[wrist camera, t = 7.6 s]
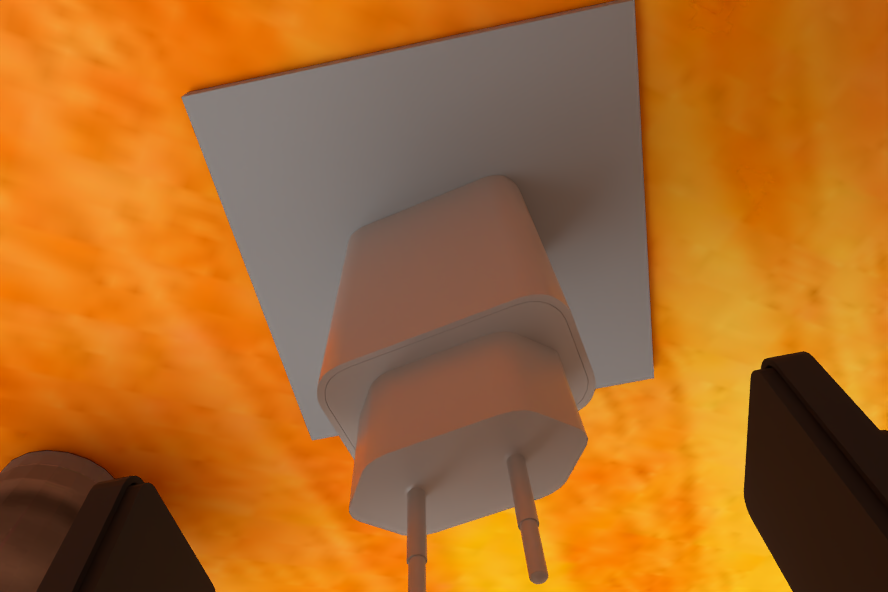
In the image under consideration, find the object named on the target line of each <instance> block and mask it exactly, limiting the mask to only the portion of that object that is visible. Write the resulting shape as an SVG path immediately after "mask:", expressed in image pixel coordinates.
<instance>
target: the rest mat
mask: <svg viewBox="0 0 888 592" xmlns="http://www.w3.org/2000/svg"><path fill="white" fill-rule="evenodd" d="M182 100H183V103H184V105H185V108H186V111H187V113H188V116H189V118H190V121H191V124H192V126H193V129H194V132H195V134H196V137H197V139H198V142H199V145H200V147H201V150H202V153H203V155H204V158H205V160H206V163H207V166H208V168H209V171H210V174H211V176H212V179H213V181H214V184H215V187H216V189H217V192H218V195H219V197H220V200H221V203H222V205H223V208H224V210H225V213H226V216H227V218H228V221H229V224H230V226H231V229H232V231H233V234H234V237H235V239H236V242H237V245H238V247H239V250H240V252H241V255H242V258H243V260H244V263H245V266H246V268H247V271H248V273H249V276H250V279H251V281H252V284H253V287H254V289H255V292H256V294H257V297H258V300H259V302H260V305H261V308H262V310H263V313H264V315H265V318H266V321H267V323H268V326H269V329H270V331H271V334H272V337H273V339H274V342H275V344H276V347H277V350H278V352H279V355H280V358H281V360H282V363H283V365H284V368H285V371H286V373H287V376H288V379H289V381H290V384H291V386H292V389H293V392H294V394H295V397H296V400H297V402H298V405H299V407H300V410H301V413H302V415H303V418H304V421H305V423H306V426H307V428H308V431H309V434H310V436H311V439H312V440H316V439H322V438H327V437H333V436H338V433H337V432H336V430H335V429H334V427H333V425H332V424H331V422H330V421H329V419H328V418H327V416H326V414H325V413H324V411H323V410H322V408H321V407H320V404H319V402H318V398H317V387H318V382H319V378H320V373H321V368H322V364H323V359H324V354H325V349H326V345H327V340H328V335H329V331H330V326H331V321H332V316H333V312H334V307H335V302H336V298H337V293H338V288H339V284H340V279H341V274H342V269H343V265H344V260H345V255H346V251H347V246H348V242H349V239H350V237H351V235H352V234H353V233H354V232H355V231H357V230H358V229H360V228H362V227H363V226H366V225H368V224H371V223H373V222H375V221H378V220H380V219H383V218H385V217H388V216H390V215H393V214H395V213H398V212H400V211H403V210H405V209H407V208H410V207H412V206H415V205H417V204H420V203H422V202H425V201H427V200H430V199H432V198H434V197H437V196H439V195H442V194H444V193H447V192H449V191H452V190H454V189H457V188H459V187H462V186H464V185H466V184H469V183H471V182H474V181H476V180H479V179H481V178H484V177H488V176H491V175H501V176H505V177H507V178H509V179H510V180H512V181H513V182H514V183H515V184H516V185H517V187H518V188H519V190H520V192H521V195H522V197H523V200H524V202H525V204H526V207H527V209H528V211H529V214H530V216H531V218H532V221H533V223H534V226H535V228H536V230H537V233H538V235H539V237H540V240H541V242H542V244H543V247H544V249H545V252H546V254H547V256H548V259H549V261H550V263H551V266H552V268H553V270H554V273H555V275H556V278H557V280H558V282H559V285H560V287H561V289H562V292H563V294H564V296H565V299H566V301H567V304H568V306H569V308H570V311H571V313H572V316H573V318H574V321H575V324H576V326H577V329H578V332H579V335H580V337H581V340H582V343H583V345H584V348H585V351H586V354H587V356H588V359H589V362H590V364H591V367H592V370H593V373H594V375H595V380H596V385H595V389H597V388H602V387H608V386H613V385H619V384H624V383H630V382H635V381H640V380H646V379H651V378H654V369H653V349H652V330H651V311H650V291H649V272H648V253H647V233H646V214H645V194H644V175H643V156H642V136H641V117H640V97H639V78H638V59H637V39H636V20H635V0H616V1H611V2H607V3H602V4H597V5H593V6H588V7H583V8H579V9H574V10H569V11H565V12H560V13H555V14H551V15H546V16H541V17H537V18H532V19H527V20H523V21H518V22H513V23H509V24H504V25H499V26H495V27H490V28H486V29H481V30H476V31H472V32H467V33H462V34H458V35H453V36H448V37H444V38H439V39H434V40H430V41H425V42H420V43H416V44H411V45H406V46H402V47H397V48H392V49H388V50H383V51H378V52H374V53H369V54H364V55H360V56H355V57H350V58H346V59H341V60H337V61H332V62H327V63H323V64H318V65H313V66H309V67H304V68H299V69H295V70H290V71H285V72H281V73H276V74H271V75H267V76H262V77H257V78H253V79H248V80H243V81H239V82H234V83H229V84H225V85H220V86H215V87H211V88H206V89H202V90H197V91H192V92H188V93H187V94H185V95H184V96H182Z"/></svg>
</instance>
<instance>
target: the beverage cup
mask: <svg viewBox="0 0 888 592" xmlns="http://www.w3.org/2000/svg"><path fill="white" fill-rule="evenodd" d="M112 479H114V478H113V477H112V476H111V475H110V474H109V473H108V472H107V471H106V470H105V469H103V468H102V467H100V466H98V465H97V464H95V463H93V462H92V461H90V460H88V459H86V458H83V457H80V456H77V455H74V454H71V453H67V452H57V451H48V450H47V451H39V452H32V453H27V454H25V455H22V456H20V457H18V458H16V459H14V460H12V461H11V462H10V463H9V464H8V465H7V466H6V467H5V468H4V469H3V470H2V472H1V473H0V592H36V591H37V589H38V587H39V585H40V583H41V582H42V580H43V578H44V576H45V574H46V572H47V570H48V568H49V567H50V565H51V563H52V561H53V559H54V557H55V555H56V553H57V552H58V550H59V548H60V546H61V544H62V542H63V540H64V538H65V537H66V535H67V533H68V531H69V529H70V527H71V525H72V523H73V522H74V520H75V518H76V516H77V514H78V512H79V510H80V508H81V506H82V505H83V503H84V501H85V499H86V497H87V495H88V493H89V491H90V490H91V488H92V487H93V486H94V485H95V484H96V483H98V482H102V481H107V480H112Z"/></svg>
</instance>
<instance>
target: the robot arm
mask: <svg viewBox="0 0 888 592" xmlns="http://www.w3.org/2000/svg"><path fill="white" fill-rule="evenodd" d="M744 499H745V503H746V507H747V510H748V512H749V515H750V517H751V519H752V520H753V522H754V524H755V526H756V528H757V529H758V531H759V533H760V535H761V536H762V538H763V540H764V542H765V543H766V545H767V547H768V549H769V550H770V552H771V554H772V556H773V557H774V559H775V561H776V563H777V565H778V566H779V568H780V570H781V572H782V573H783V575H784V577H785V579H786V580H787V582H788V584H789V586H790V587H791V589H792V591H793V592H888V431H887V430H879V429H878V428H877V427H876V426H875V425H874V423H873V422H872V421H871V420H870V419H869V418H868V417H867V416H866V415H865V414H864V412H863V411H862V410H861V409H860V408H859V407H858V406H857V405H856V404H855V403H854V401H853V400H852V399H851V398H850V397H849V396H848V395H847V394H846V393H845V391H844V390H843V389H842V388H841V387H840V386H839V385H838V384H837V383H836V382H835V380H834V379H833V378H832V377H831V376H830V375H829V374H828V373H827V372H826V371H825V369H824V368H823V367H822V366H821V365H820V364H819V363H818V362H817V361H816V360H815V358H814V357H813V356H811V355H810V354H809V353H807V352H804V351H803V352H798V353H793V354H787V355H782V356H776V357H771V358H767V359H764V361H763V362H762V365H761V369H760V370H755V371H753V372H752V374H751V382H750V399H749V415H748V432H747V448H746V465H745V482H744ZM36 592H215V588H214V586H213V584H212V582H211V580H210V579H209V577H208V575H207V574H206V572H205V570H204V569H203V567H202V565H201V564H200V562H199V560H198V559H197V557H196V555H195V554H194V552H193V550H192V549H191V547H190V545H189V544H188V542H187V540H186V539H185V537H184V535H183V534H182V532H181V530H180V529H179V527H178V525H177V524H176V522H175V520H174V519H173V517H172V515H171V514H170V512H169V510H168V509H167V507H166V505H165V504H164V502H163V500H162V499H161V497H160V495H159V494H158V492H157V490H156V489H155V487H154V486H153V485H152V484H151V483H144V482H143V481H142V479H141V478H139V477H137V476H129V477H123V478H118V479H112V480H107V481H102V482H98V483H96V484H95V485H94V486H93V487H92V488H91V490H90V491H89V493H88V495H87V497H86V499H85V501H84V503H83V505H82V506H81V508H80V510H79V512H78V514H77V516H76V518H75V520H74V522H73V523H72V525H71V527H70V529H69V531H68V533H67V535H66V537H65V538H64V540H63V542H62V544H61V546H60V548H59V550H58V552H57V553H56V555H55V557H54V559H53V561H52V563H51V565H50V567H49V568H48V570H47V572H46V574H45V576H44V578H43V580H42V582H41V583H40V585H39V587H38V589H37V591H36Z"/></svg>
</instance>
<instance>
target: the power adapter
mask: <svg viewBox="0 0 888 592" xmlns="http://www.w3.org/2000/svg"><path fill="white" fill-rule="evenodd" d="M595 385H596V380H595V375H594V373H593V370H592V367H591V364H590V362H589V359H588V356H587V354H586V351H585V348H584V345H583V343H582V340H581V337H580V335H579V332H578V329H577V326H576V324H575V321H574V318H573V316H572V313H571V311H570V308H569V306H568V304H567V301H566V299H565V296H564V294H563V292H562V289H561V287H560V285H559V282H558V280H557V278H556V275H555V273H554V270H553V268H552V266H551V263H550V261H549V259H548V256H547V254H546V252H545V249H544V247H543V244H542V242H541V240H540V237H539V235H538V233H537V230H536V228H535V226H534V223H533V221H532V218H531V216H530V214H529V211H528V209H527V207H526V204H525V202H524V200H523V197H522V195H521V192H520V190H519V188H518V187H517V185H516V184H515V183H514V182H513V181H512V180H510V179H509V178H507V177H505V176H501V175H491V176H488V177H484V178H481V179H479V180H476V181H474V182H471V183H469V184H466V185H464V186H462V187H459V188H457V189H454V190H452V191H449V192H447V193H444V194H442V195H439V196H437V197H434V198H432V199H430V200H427V201H425V202H422V203H420V204H417V205H415V206H412V207H410V208H407V209H405V210H403V211H400V212H398V213H395V214H393V215H390V216H388V217H385V218H383V219H380V220H378V221H375V222H373V223H371V224H368V225H366V226H363V227H362V228H360V229H358V230H357V231H355V232H354V233H353V234H352V235H351V237H350V239H349V242H348V246H347V251H346V255H345V260H344V265H343V269H342V274H341V279H340V284H339V288H338V293H337V298H336V302H335V307H334V312H333V316H332V321H331V326H330V331H329V335H328V340H327V345H326V349H325V354H324V359H323V364H322V368H321V373H320V378H319V382H318V387H317V398H318V402H319V404H320V407H321V408H322V410H323V411H324V413H325V414H326V416H327V418H328V419H329V421H330V422H331V424H332V425H333V427H334V429H335V430H336V432H337V433H338V435H339V436H340V438H341V440H342V441H343V443H344V444H345V446H346V447H347V449H348V451H349V452H350V454H351V455H352V457H353V458H354V460H355V461H354V470H353V479H352V488H351V497H350V506H349V513H350V514H351V516H352V517H353V518H354V519H356V520H358V521H360V522H363V523H366V524H369V525H373V526H376V527H379V528H382V529H385V530H388V531H392V532H395V533H398V534H401V535H407V564H408V592H426V567H425V564H426V563H427V536H426V535H427V534H432V533H436V532H439V531H442V530H445V529H448V528H451V527H454V526H457V525H460V524H463V523H466V522H469V521H472V520H476V519H479V518H482V517H485V516H488V515H491V514H494V513H497V512H500V511H503V510H506V509H509V508H512V507H515V512H516V517H517V523H518V527H519V529H520V530H521V535H522V540H523V546H524V551H525V557H526V562H527V568H528V573H529V578H530V580H531V581H532V582H533V583H535V584H541V583H544V582H545V581H546V580H547V578H548V572H547V567H546V562H545V558H544V553H543V548H542V543H541V539H540V534H539V529H538V527H539V521H538V516H537V512H536V507H535V502H534V500H537V499H540V498H542V497H545V496H547V495H549V494H551V493H553V492H554V491H556V490H558V489H559V488H560V487H561V486H562V485H563V484H564V483H565V482H566V481H567V479H568V477H569V475H570V474H571V472H572V470H573V468H574V467H575V465H576V463H577V461H578V459H579V458H580V456H581V454H582V452H583V451H584V449H585V447H586V445H587V441H588V438H587V435H586V432H585V429H584V426H583V424H582V421H581V418H580V415H579V412H578V411H579V410H580V409H582V408H583V407H585V406H586V405H587V404H588V402H589V401H590V400H591V398H592V396H593V394H594V391H595Z"/></svg>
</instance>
